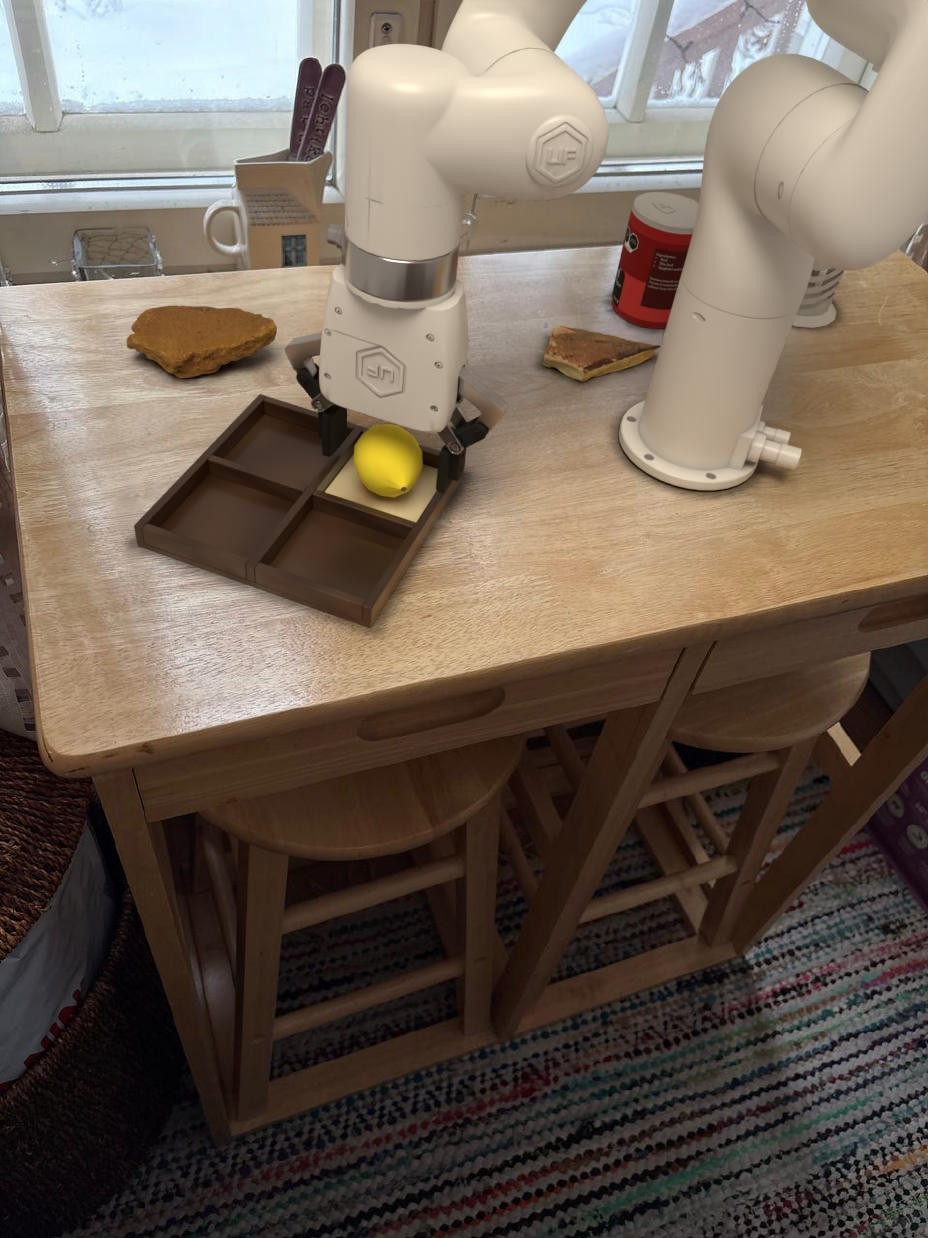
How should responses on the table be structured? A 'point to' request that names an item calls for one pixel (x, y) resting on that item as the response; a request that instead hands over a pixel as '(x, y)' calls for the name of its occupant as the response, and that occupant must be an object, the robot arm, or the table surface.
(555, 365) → the pie slice
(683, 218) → the canned food
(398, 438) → the lemon
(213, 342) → the artifact
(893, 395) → the table surface
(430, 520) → the brown compartment tray
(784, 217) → the robot arm
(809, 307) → the french press
